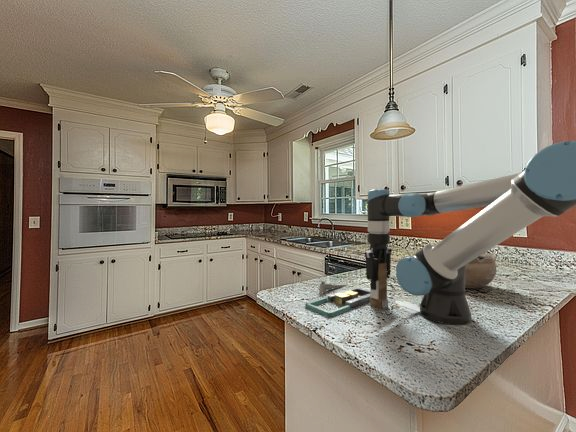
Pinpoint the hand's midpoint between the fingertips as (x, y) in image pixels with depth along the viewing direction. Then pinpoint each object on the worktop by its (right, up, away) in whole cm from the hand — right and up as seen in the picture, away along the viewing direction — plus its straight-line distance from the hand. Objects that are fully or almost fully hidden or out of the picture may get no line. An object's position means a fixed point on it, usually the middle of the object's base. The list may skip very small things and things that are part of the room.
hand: (378, 296), depth 98 cm
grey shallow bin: (-8, -5, +8) cm, 12 cm away
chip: (-9, -3, +7) cm, 11 cm away
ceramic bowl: (+50, -3, +27) cm, 57 cm away
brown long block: (0, -5, 0) cm, 5 cm away
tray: (-19, -5, -1) cm, 20 cm away
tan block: (-12, -4, +4) cm, 14 cm away
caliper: (-12, -5, +22) cm, 26 cm away
